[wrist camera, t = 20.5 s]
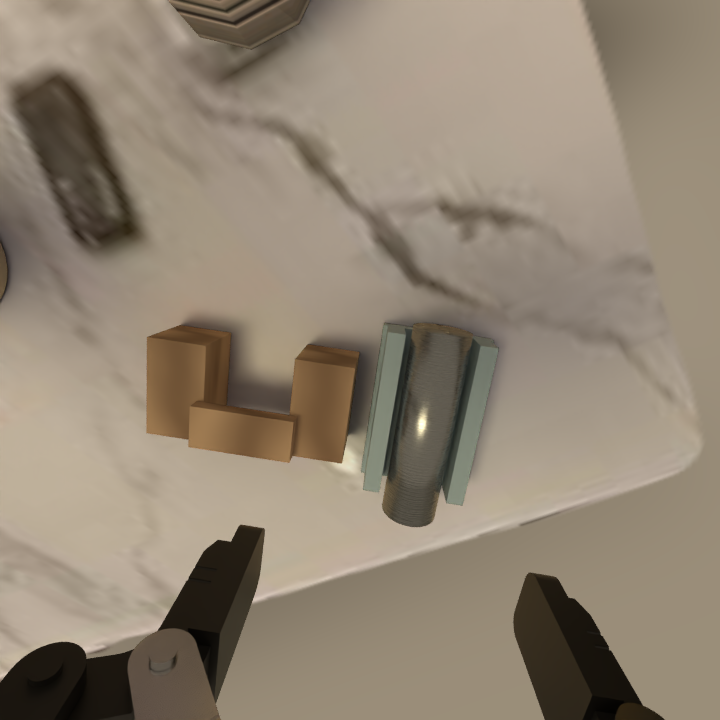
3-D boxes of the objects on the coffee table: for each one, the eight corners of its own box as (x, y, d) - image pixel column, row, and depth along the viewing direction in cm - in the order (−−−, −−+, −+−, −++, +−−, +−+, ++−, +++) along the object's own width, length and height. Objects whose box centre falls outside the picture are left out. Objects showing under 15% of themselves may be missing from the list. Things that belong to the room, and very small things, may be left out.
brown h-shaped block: (177, 409, 34) (138, 439, 28) (180, 325, 32) (138, 340, 27) (347, 435, 34) (340, 470, 28) (359, 352, 32) (354, 372, 26)
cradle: (361, 465, 34) (359, 489, 31) (383, 322, 31) (383, 331, 28) (458, 481, 34) (466, 506, 31) (490, 338, 31) (503, 349, 28)
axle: (435, 501, 33) (433, 532, 29) (386, 489, 34) (378, 518, 30) (471, 329, 29) (474, 340, 26) (415, 320, 30) (410, 329, 26)
